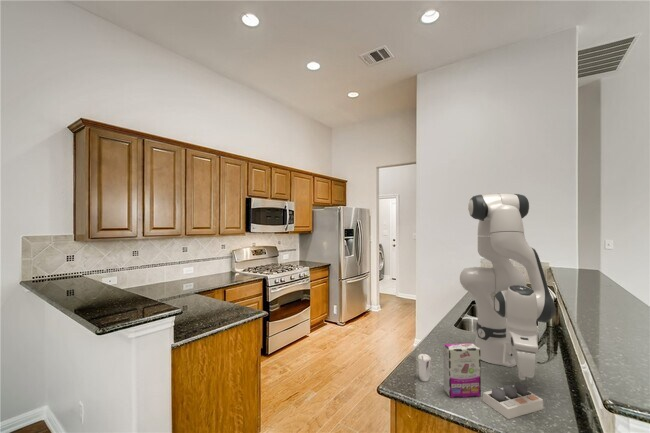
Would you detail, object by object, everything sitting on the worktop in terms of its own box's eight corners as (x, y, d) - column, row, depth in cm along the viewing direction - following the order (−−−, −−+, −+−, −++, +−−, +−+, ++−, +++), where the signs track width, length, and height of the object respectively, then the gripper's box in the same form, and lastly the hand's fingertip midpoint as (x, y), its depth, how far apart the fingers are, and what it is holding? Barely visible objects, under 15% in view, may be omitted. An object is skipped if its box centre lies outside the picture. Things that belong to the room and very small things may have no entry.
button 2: (519, 390, 100) (519, 381, 100) (530, 396, 97) (530, 387, 97) (511, 392, 99) (511, 383, 99) (522, 398, 95) (522, 389, 95)
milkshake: (415, 381, 109) (415, 354, 109) (419, 374, 113) (419, 348, 113) (428, 385, 106) (428, 357, 106) (431, 378, 111) (432, 352, 111)
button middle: (508, 392, 99) (508, 383, 99) (519, 399, 95) (519, 390, 95) (500, 395, 97) (500, 385, 97) (510, 401, 94) (510, 392, 94)
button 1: (497, 395, 97) (497, 386, 97) (508, 402, 93) (508, 393, 93) (488, 397, 96) (488, 388, 96) (499, 404, 92) (499, 395, 92)
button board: (516, 393, 102) (516, 383, 102) (543, 409, 93) (543, 398, 93) (483, 401, 97) (483, 391, 97) (508, 419, 89) (508, 408, 89)
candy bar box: (472, 388, 104) (473, 342, 105) (481, 397, 99) (481, 348, 100) (442, 389, 104) (442, 343, 104) (449, 398, 99) (449, 349, 99)
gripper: (506, 324, 108) (506, 362, 108) (514, 345, 90) (514, 390, 90) (527, 327, 106) (527, 366, 105) (539, 349, 87) (539, 396, 87)
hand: (521, 377), depth 97 cm, fingers closed
